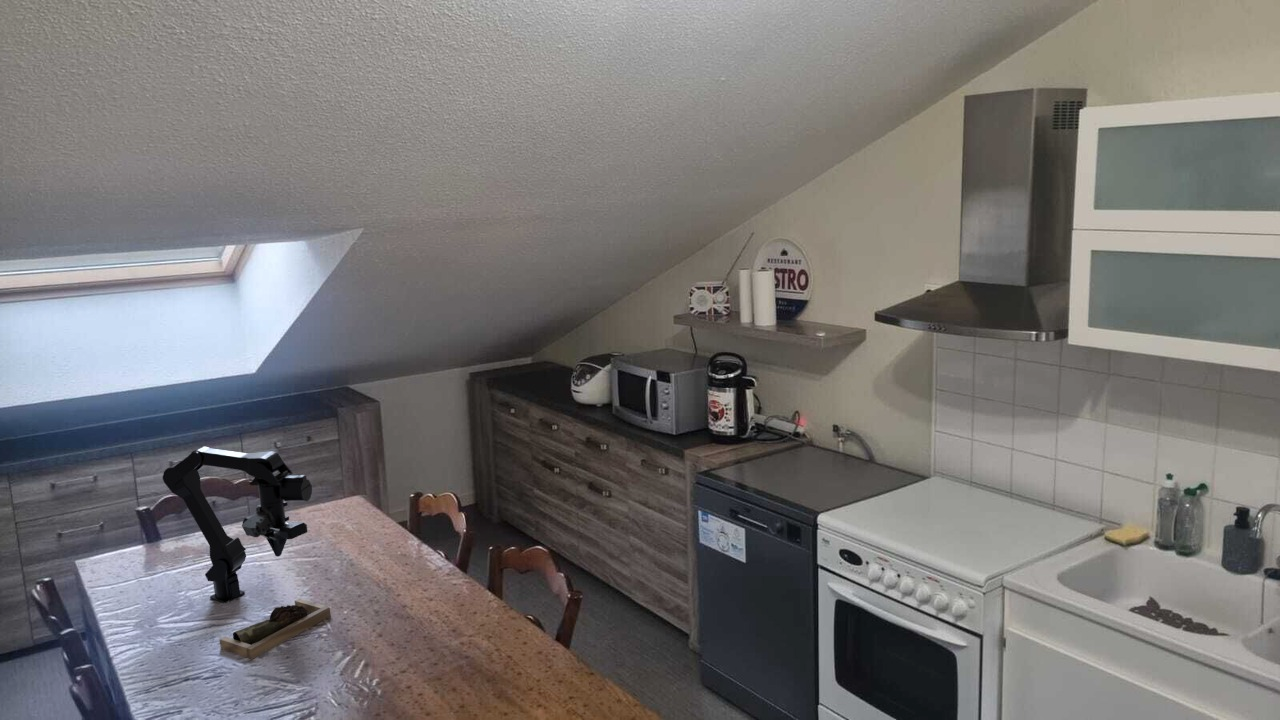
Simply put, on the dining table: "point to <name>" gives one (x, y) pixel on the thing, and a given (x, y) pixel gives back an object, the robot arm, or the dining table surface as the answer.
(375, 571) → the dining table surface
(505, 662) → the dining table surface
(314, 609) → the cradle frame
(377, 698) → the dining table surface
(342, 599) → the dining table surface
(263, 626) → the mossy log
